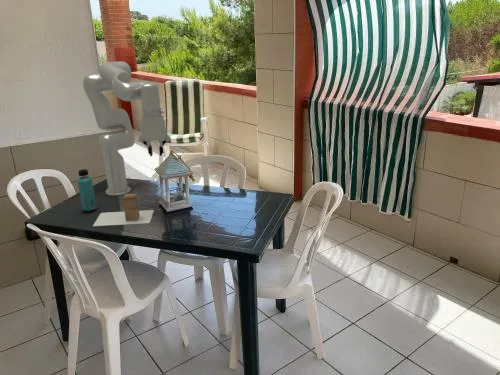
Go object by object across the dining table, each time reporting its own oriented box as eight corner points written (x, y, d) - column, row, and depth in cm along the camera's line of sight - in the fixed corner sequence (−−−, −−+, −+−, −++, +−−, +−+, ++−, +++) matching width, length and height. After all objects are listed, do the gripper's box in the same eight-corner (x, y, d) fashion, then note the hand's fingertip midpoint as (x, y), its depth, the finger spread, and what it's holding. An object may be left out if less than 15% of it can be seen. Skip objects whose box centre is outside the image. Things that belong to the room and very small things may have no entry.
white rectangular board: (101, 213, 186) (100, 212, 186) (154, 210, 188) (153, 209, 187) (92, 227, 173) (92, 226, 172) (149, 223, 174) (149, 222, 174)
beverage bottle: (92, 214, 185) (85, 172, 178) (79, 213, 187) (72, 172, 180) (100, 208, 191) (93, 168, 184) (87, 207, 193) (80, 167, 186)
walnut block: (128, 217, 181) (125, 194, 177) (139, 216, 181) (136, 193, 177) (126, 221, 176) (122, 198, 172) (137, 221, 176) (134, 197, 172)
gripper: (172, 111, 174) (176, 152, 181) (133, 112, 173) (138, 153, 179) (170, 114, 167) (174, 156, 174) (130, 115, 166) (135, 158, 172)
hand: (156, 154), depth 176 cm, fingers open, 3 cm apart
